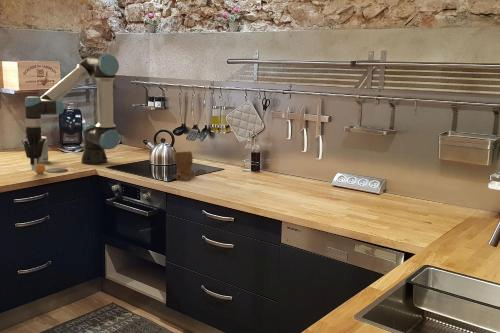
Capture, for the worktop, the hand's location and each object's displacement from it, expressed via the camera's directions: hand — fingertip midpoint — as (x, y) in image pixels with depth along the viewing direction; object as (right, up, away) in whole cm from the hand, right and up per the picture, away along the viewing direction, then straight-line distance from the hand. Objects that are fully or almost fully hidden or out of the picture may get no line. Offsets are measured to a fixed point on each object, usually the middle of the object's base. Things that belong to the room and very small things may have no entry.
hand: (34, 170), depth 277 cm
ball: (+2, +1, +3) cm, 3 cm away
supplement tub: (-11, +5, +34) cm, 36 cm away
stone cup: (+78, -5, +8) cm, 79 cm away
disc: (+7, 0, +13) cm, 14 cm away
